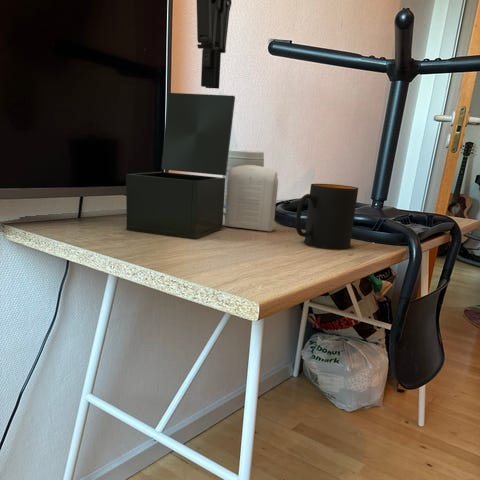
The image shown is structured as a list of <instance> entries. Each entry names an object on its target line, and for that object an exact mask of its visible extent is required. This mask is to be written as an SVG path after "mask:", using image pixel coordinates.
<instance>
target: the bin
mask: <svg viewBox="0 0 480 480" xmlns="http://www.w3.org/2000/svg"><path fill="white" fill-rule="evenodd" d="M125 186H126V187H125V194H126V195H125V197H126V198H125V203H126V206H125V207H126V212H125V213H126V230H127V231H131V232H139V233H147V234H154V235H162V236H168V237H175V238H181V239H182V238H183V239H189V240H190V239H191V240H197V239H199V238H202V237H204V236H207V235H210V234H212V233H215V232H217V231H220V230H222V229H223V227H224V226H223V224H224V213H223V210H224V192H225V178H223V177H220V176H211V175H199V174H191V173H179V172H168V171H152V172H139V173H125Z"/></svg>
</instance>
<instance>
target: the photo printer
mask: <svg viewBox="0 0 480 480" xmlns="http://www.w3.org/2000/svg"><path fill="white" fill-rule="evenodd" d="M278 189H279V178H278V172H277V171H275V170H273V169H271V168H268V167H265V166H264V167H262V166H256V165H242V166H236V167H233V168H230V171H229V176H228V183H227V196H226V210H225V214H224V226H225V227H228V228H229V227H231V228H236V229H237V228H238V229H244V230H245V229H246V230H255V231H261V232H267V233H268V232H269V233H270V232H272V231H274V227H275V226H274V225H275V216H276V207H277V199H278V198H277V197H278Z"/></svg>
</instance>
